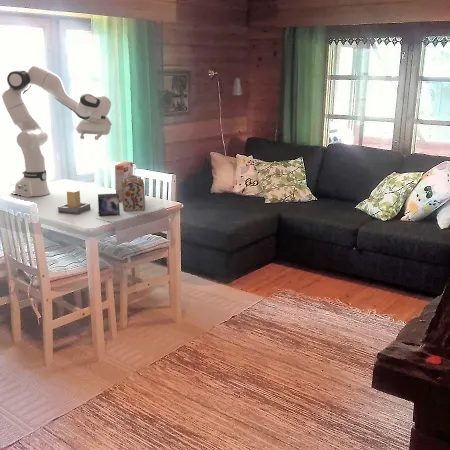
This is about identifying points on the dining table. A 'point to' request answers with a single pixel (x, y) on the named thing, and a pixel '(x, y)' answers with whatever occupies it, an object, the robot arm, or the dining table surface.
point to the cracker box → (122, 175)
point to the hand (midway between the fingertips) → (88, 138)
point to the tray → (69, 210)
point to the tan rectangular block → (73, 198)
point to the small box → (108, 204)
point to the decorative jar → (133, 194)
